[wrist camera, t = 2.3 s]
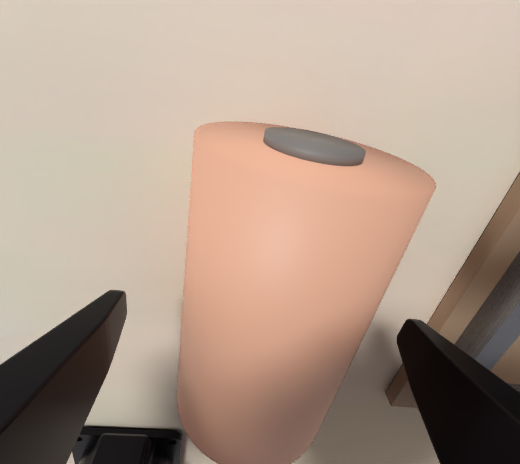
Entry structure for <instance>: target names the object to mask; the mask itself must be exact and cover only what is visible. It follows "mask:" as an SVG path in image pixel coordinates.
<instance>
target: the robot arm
mask: <svg viewBox="0 0 520 464" xmlns="http://www.w3.org/2000/svg"><path fill="white" fill-rule="evenodd" d="M126 315H127V304H126V293H125V292H124V291H120V290H109V291H108V292H106V293H105V294H103V295H102V296H100V297H99V298H97V299H96V300H94V301H93V302H91V303H90V304H89V305H87V306H86V307H84V308H83V309H81V310H80V311H78V312H77V313H75V314H74V315H72V316H71V317H69V318H68V319H67V320H65V321H64V322H62V323H61V324H59V325H58V326H56V327H55V328H53V329H52V330H50V331H49V332H47V333H46V334H45V335H43V336H42V337H40V338H39V339H37V340H36V341H34V342H33V343H31V344H30V345H28V346H27V347H25V348H24V349H23V350H21V351H20V352H18V353H17V354H15V355H14V356H12V357H11V358H9V359H8V360H6V361H5V362H3V363H2V364H1V365H0V464H66V463H67V461H68V459H69V456H70V454H71V452H72V453H73V457H74V461H75V464H180V454H181V443H182V434H181V433H180V432H178V431H162V430H138V429H113V428H89V427H83V426H84V424H85V421H86V419H87V417H88V415H89V413H90V410H91V408H92V406H93V404H94V402H95V400H96V397H97V395H98V393H99V391H100V389H101V386H102V384H103V382H104V380H105V378H106V375H107V373H108V371H109V368H110V365H111V362H112V360H113V357H114V353H115V350H116V347H117V344H118V341H119V338H120V335H121V332H122V329H123V326H124V323H125V320H126ZM397 345H398V348H399V351H400V355H401V358H402V362H403V365H404V369H405V372H406V375H407V379H408V382H409V385H410V388H411V391H412V394H413V396H414V399H415V401H416V404H417V406H418V409H419V412H420V414H421V417H422V419H423V422H424V424H425V427H426V429H427V432H428V434H429V437H430V439H431V442H432V444H433V447H434V449H435V452H436V454H437V457H438V459H439V462H440V464H520V392H518V391H517V390H516V389H514V388H513V387H512V386H510V385H509V384H507V383H506V382H505V381H503V380H502V379H501V378H499V377H498V376H496V375H495V374H494V373H492V372H491V371H490V370H488V369H487V368H486V367H484V366H483V365H481V364H480V363H479V362H477V361H476V360H475V359H473V358H472V357H471V356H469V355H468V354H466V353H465V352H464V351H462V350H461V349H460V348H458V347H457V346H455V345H454V344H453V343H451V342H450V341H449V340H447V339H446V338H445V337H443V336H442V335H440V334H439V333H438V332H436V331H435V330H434V329H432V328H431V327H429V326H428V325H427V324H425V323H424V322H423V321H421V320H417V319H407V320H406V321H405V323H404V324H403V326H402V328H401V330H400V332H399V333H398V335H397Z"/></svg>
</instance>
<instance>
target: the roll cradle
mask: <svg viewBox="0 0 520 464" xmlns="http://www.w3.org/2000/svg"><path fill="white" fill-rule="evenodd" d="M427 325H428V326H429V327H431V328H432V329H434V330H435V331H436V332H438V333H439V334H440V335H442V336H443V337H445V338H446V339H447V340H449V341H450V342H451V343H453V344H454V345H455V346H457V347H458V348H460V349H461V350H462V351H464V352H465V353H466V354H468V355H469V356H471V357H472V358H473V359H475V360H476V361H477V362H479V363H480V364H481V365H483V366H484V367H486V368H487V369H488V370H490V371H491V372H492V373H494V374H495V375H496V376H498V377H499V378H501V379H502V380H503V381H505V382H506V383H507V384H509V385H510V386H512V387H513V388H514V389H516V390H517V391H518V392H520V173H519V175H518V177H517V178H516V180H515V182H514V183H513V185H512V187H511V188H510V190H509V191H508V193H507V195H506V196H505V198H504V200H503V201H502V203H501V205H500V206H499V208H498V209H497V211H496V213H495V214H494V216H493V218H492V219H491V221H490V223H489V224H488V226H487V227H486V229H485V231H484V232H483V234H482V236H481V237H480V239H479V241H478V242H477V244H476V245H475V247H474V249H473V250H472V252H471V254H470V255H469V257H468V259H467V260H466V262H465V263H464V265H463V267H462V268H461V270H460V272H459V273H458V275H457V277H456V278H455V280H454V281H453V283H452V285H451V286H450V288H449V290H448V291H447V293H446V295H445V296H444V298H443V299H442V301H441V303H440V304H439V306H438V308H437V309H436V311H435V313H434V314H433V316H432V317H431V319H430V321H429V322H428V324H427ZM386 395H387V397H388V400H389V402H390V404H391V406H400V407H418V406H417V404H416V401H415V399H414V396H413V394H412V391H411V388H410V385H409V382H408V379H407V375H406V372H405V369H404V365H402V367H401V368H400V370H399V371H398V373H397V375H396V376H395V378H394V380H393V381H392V383H391V385H390V386H389V388H388V389H387V391H386Z"/></svg>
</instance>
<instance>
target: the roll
mask: <svg viewBox="0 0 520 464" xmlns="http://www.w3.org/2000/svg"><path fill="white" fill-rule="evenodd" d="M435 188H436V183H435V181H434V179H433V178H432V177H431V176H430V175H429V174H427V173H426V172H425V171H423V170H422V169H420V168H419V167H417V166H415V165H413V164H411V163H409V162H407V161H405V160H403V159H401V158H398V157H396V156H394V155H391V154H389V153H386V152H383V151H381V150H378V149H375V148H372V147H369V146H366V145H363V144H360V143H356V142H353V141H349V140H346V139H342V138H338V137H334V136H330V135H326V134H322V133H318V132H313V131H308V130H302V129H296V128H289V127H284V126H278V125H272V124H263V123H252V122H215V123H209V124H205V125H202V126H200V127H198V128H197V129H196V130H195V133H194V145H193V160H192V175H191V190H190V204H189V219H188V234H187V249H186V264H185V278H184V293H183V308H182V323H181V338H180V353H179V367H178V382H177V407H178V412H179V416H180V419H181V422H182V425H183V427H184V429H185V431H186V433H187V435H188V436H189V437H190V439H191V440H192V442H193V443H194V444H195V445H196V446H197V447H198V449H199V450H200V451H201V452H202V453H204V454H205V455H206V456H207V457H209V458H210V459H211V460H213V461H215V462H216V463H218V464H291V463H292V462H294V461H295V460H297V459H298V458H299V457H300V456H301V455H302V454H303V453H305V451H306V450H307V449H308V448H309V446H310V445H311V444H312V442H313V440H314V438H315V436H316V435H317V432H318V430H319V428H320V426H321V424H322V422H323V420H324V418H325V416H326V414H327V412H328V410H329V408H330V406H331V403H332V401H333V399H334V397H335V395H336V393H337V391H338V389H339V387H340V385H341V383H342V381H343V379H344V377H345V375H346V372H347V370H348V368H349V366H350V364H351V362H352V360H353V358H354V356H355V354H356V352H357V350H358V348H359V346H360V343H361V341H362V339H363V337H364V335H365V333H366V331H367V329H368V327H369V325H370V323H371V321H372V319H373V317H374V315H375V312H376V310H377V308H378V306H379V304H380V302H381V300H382V298H383V296H384V294H385V292H386V290H387V288H388V286H389V283H390V281H391V279H392V277H393V275H394V273H395V271H396V269H397V267H398V265H399V263H400V261H401V259H402V257H403V255H404V252H405V250H406V248H407V246H408V244H409V242H410V240H411V238H412V236H413V234H414V232H415V230H416V228H417V226H418V223H419V221H420V219H421V217H422V215H423V213H424V211H425V209H426V207H427V205H428V203H429V201H430V199H431V197H432V195H433V192H434V190H435Z"/></svg>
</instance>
